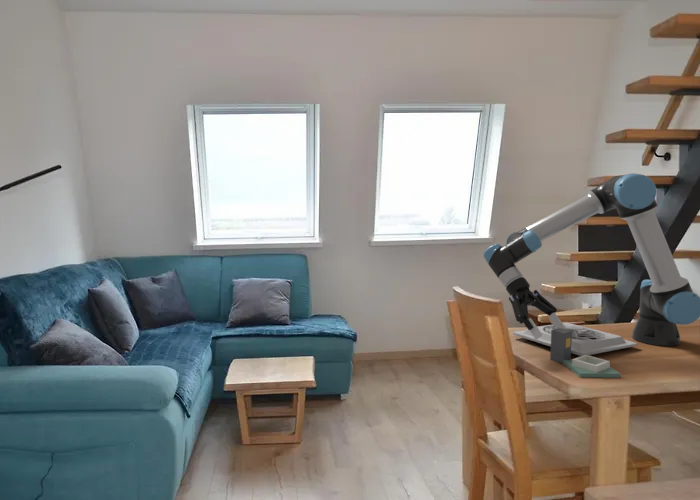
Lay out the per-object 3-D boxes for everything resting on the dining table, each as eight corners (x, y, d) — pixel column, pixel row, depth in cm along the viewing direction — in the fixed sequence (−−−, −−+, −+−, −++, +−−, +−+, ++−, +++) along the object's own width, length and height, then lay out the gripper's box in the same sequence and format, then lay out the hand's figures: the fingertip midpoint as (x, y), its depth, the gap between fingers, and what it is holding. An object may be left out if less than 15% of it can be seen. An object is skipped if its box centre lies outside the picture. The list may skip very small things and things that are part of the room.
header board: (600, 363, 154) (601, 354, 154) (620, 377, 142) (621, 367, 142) (562, 363, 154) (563, 353, 154) (579, 377, 142) (580, 366, 142)
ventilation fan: (565, 314, 195) (638, 331, 169) (564, 329, 196) (637, 349, 169) (512, 321, 181) (582, 341, 155) (511, 337, 182) (581, 360, 156)
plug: (557, 357, 161) (559, 327, 160) (571, 360, 157) (572, 331, 156) (550, 359, 158) (551, 330, 157) (563, 363, 154) (564, 333, 153)
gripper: (528, 285, 179) (564, 333, 168) (485, 292, 165) (520, 346, 154) (542, 273, 174) (579, 322, 163) (498, 279, 160) (536, 333, 149)
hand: (551, 334), depth 159 cm, fingers open, 13 cm apart
